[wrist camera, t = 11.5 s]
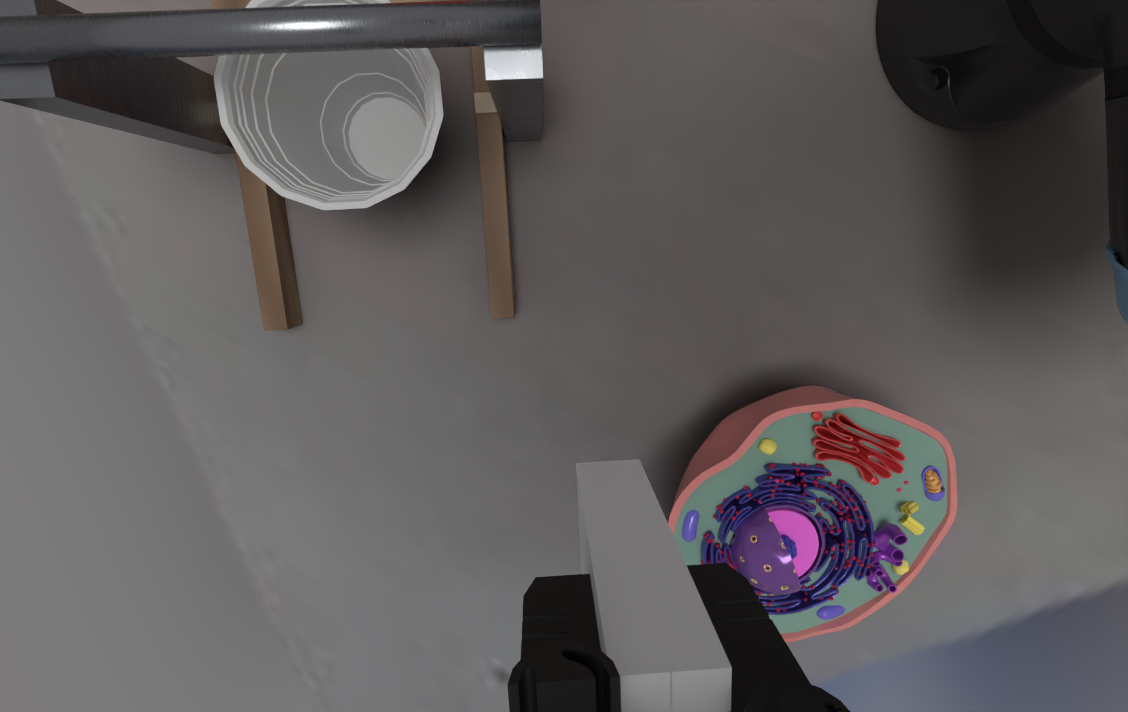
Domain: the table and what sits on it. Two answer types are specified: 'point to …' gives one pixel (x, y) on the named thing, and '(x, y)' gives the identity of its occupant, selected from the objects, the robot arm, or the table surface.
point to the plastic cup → (331, 118)
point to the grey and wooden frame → (187, 95)
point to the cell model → (817, 505)
